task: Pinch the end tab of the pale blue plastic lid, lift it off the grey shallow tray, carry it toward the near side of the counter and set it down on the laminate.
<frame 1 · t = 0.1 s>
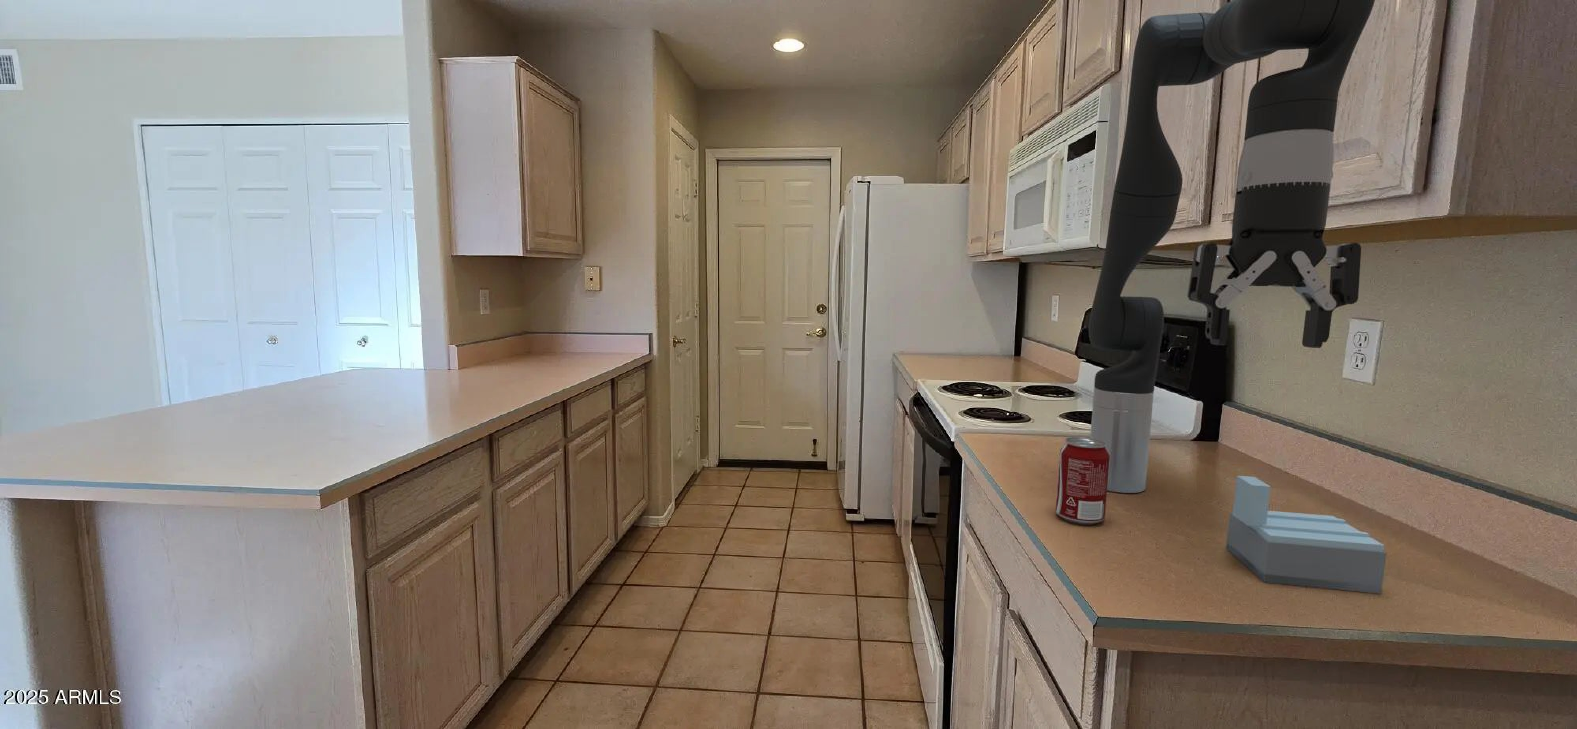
hand: (1263, 345, 66), 29 cm above the table, fingers open, 8 cm apart
soda can: (1079, 520, 97), on the table
grey shallow tray: (1297, 569, 80), on the table
lid: (1302, 531, 80), point 5 cm above the table, touching grey shallow tray
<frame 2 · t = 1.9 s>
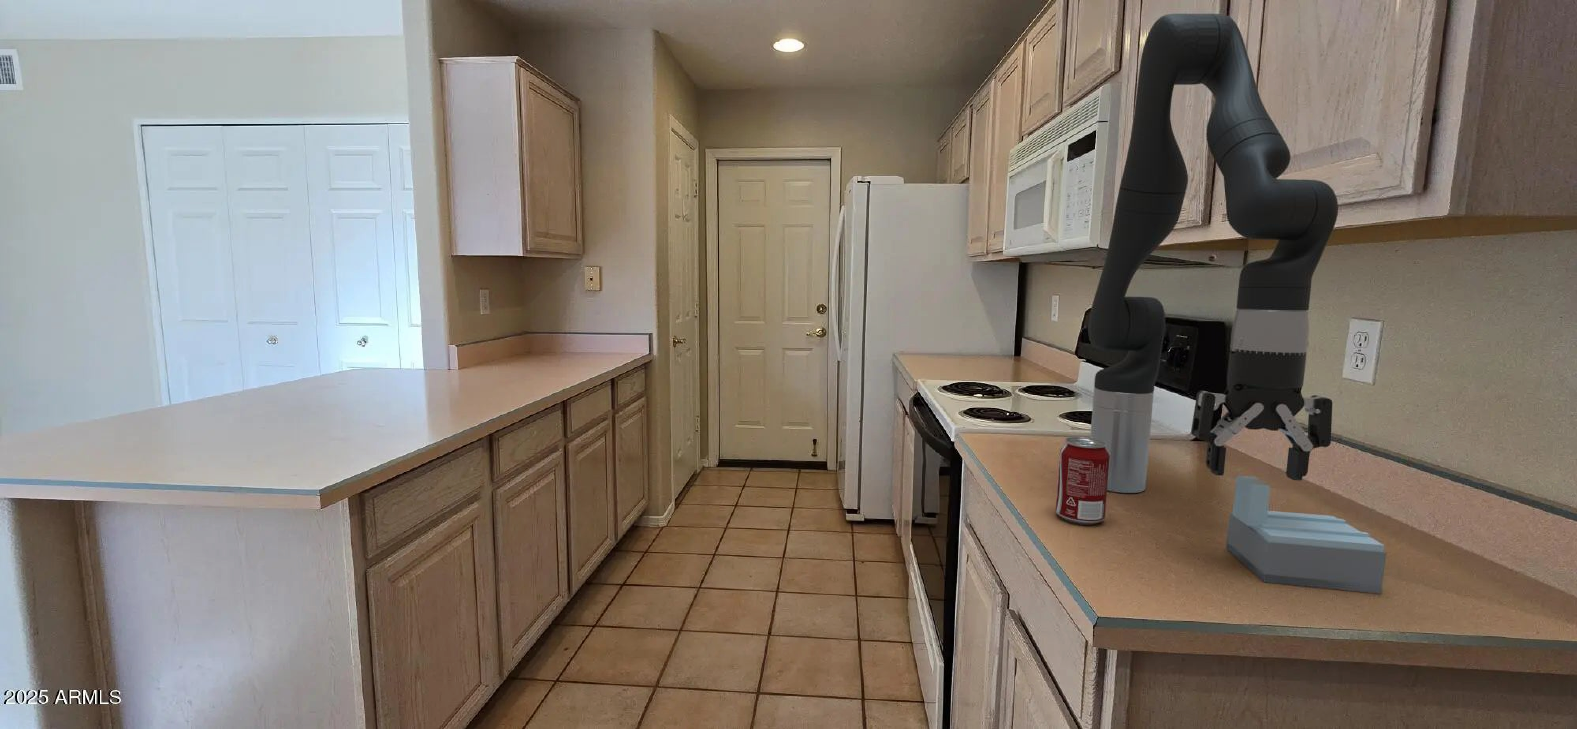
hand: (1254, 476, 80), 12 cm above the table, fingers open, 8 cm apart
nothing on the table moved.
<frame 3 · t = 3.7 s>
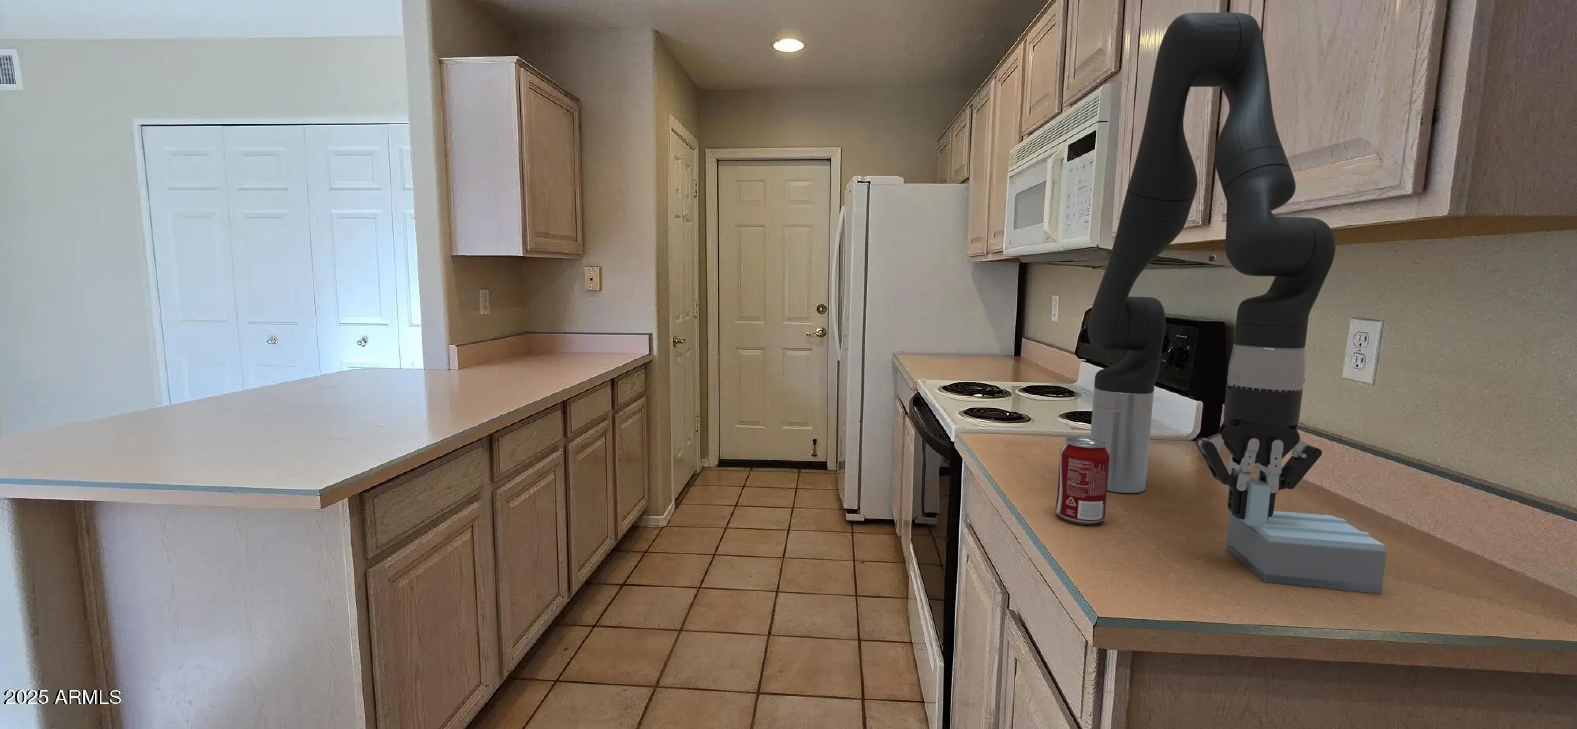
hand: (1248, 517, 81), 6 cm above the table, fingers closed on lid
lid: (1302, 531, 80), point 5 cm above the table, touching gripper
everything else where it was.
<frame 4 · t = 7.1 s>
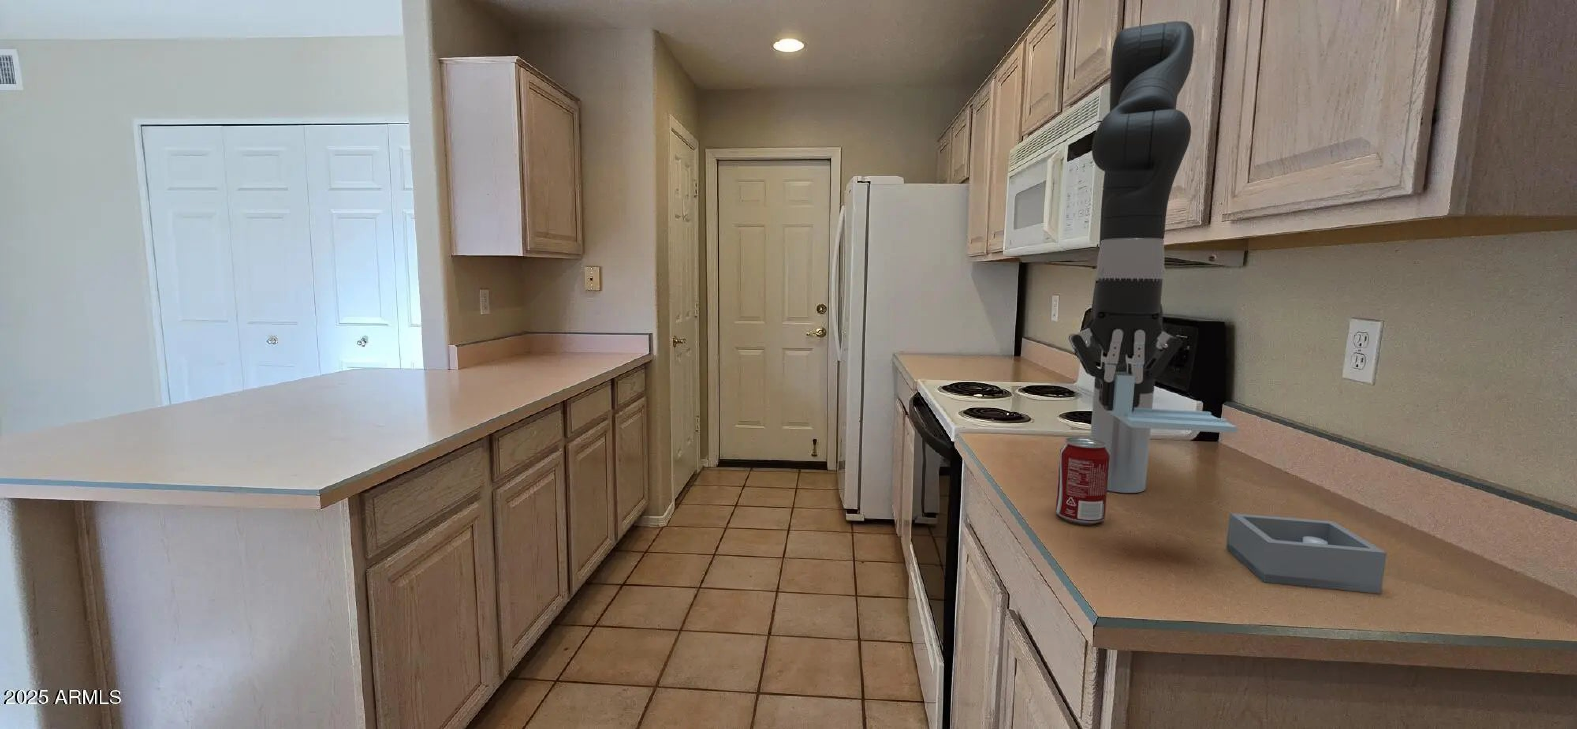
hand: (1117, 409, 83), 19 cm above the table, fingers closed on lid
lid: (1168, 422, 82), point 18 cm above the table, touching gripper
everything else where it was.
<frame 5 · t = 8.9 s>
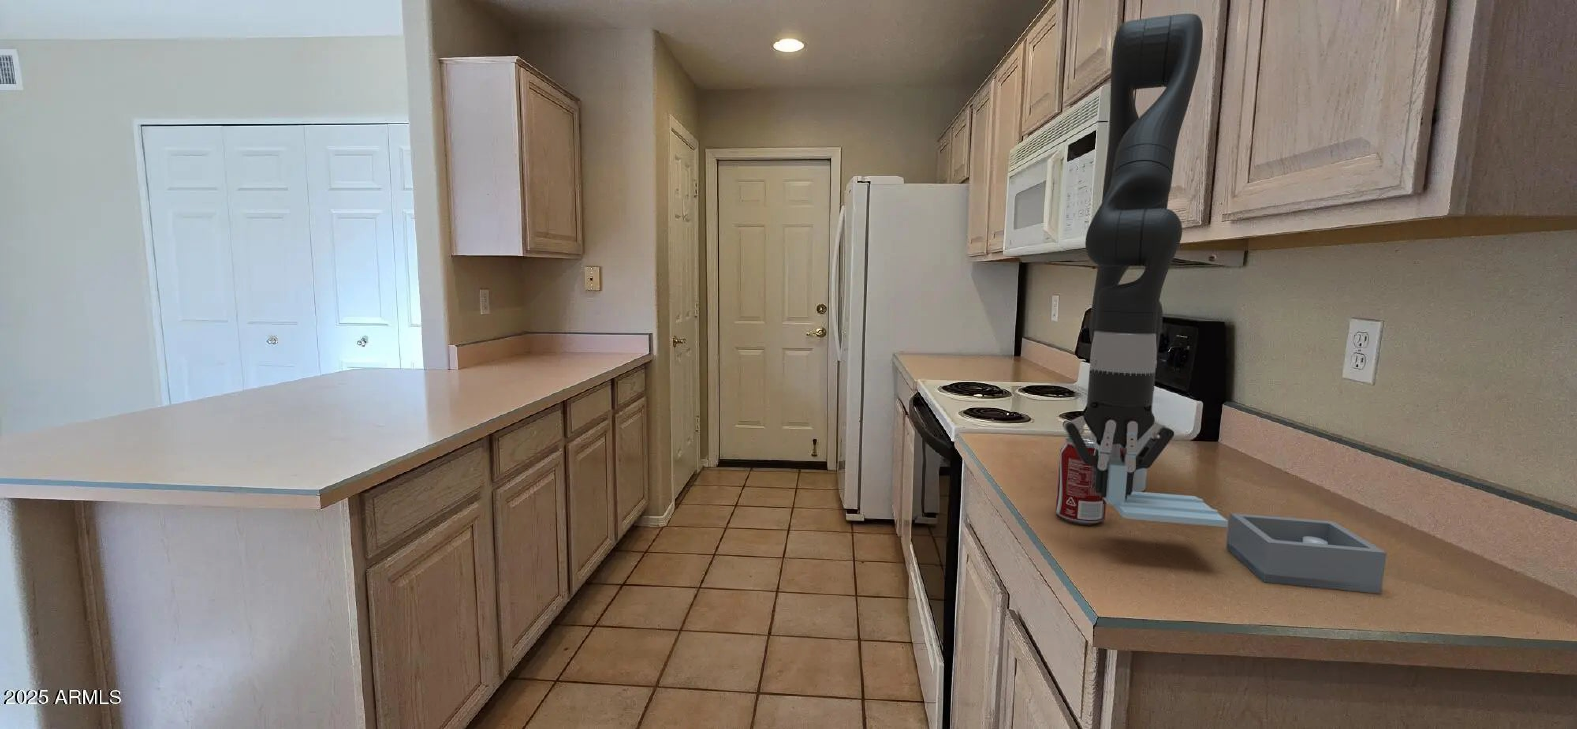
hand: (1111, 496, 85), 7 cm above the table, fingers closed on lid
lid: (1160, 509, 83), point 6 cm above the table, touching gripper
everything else where it was.
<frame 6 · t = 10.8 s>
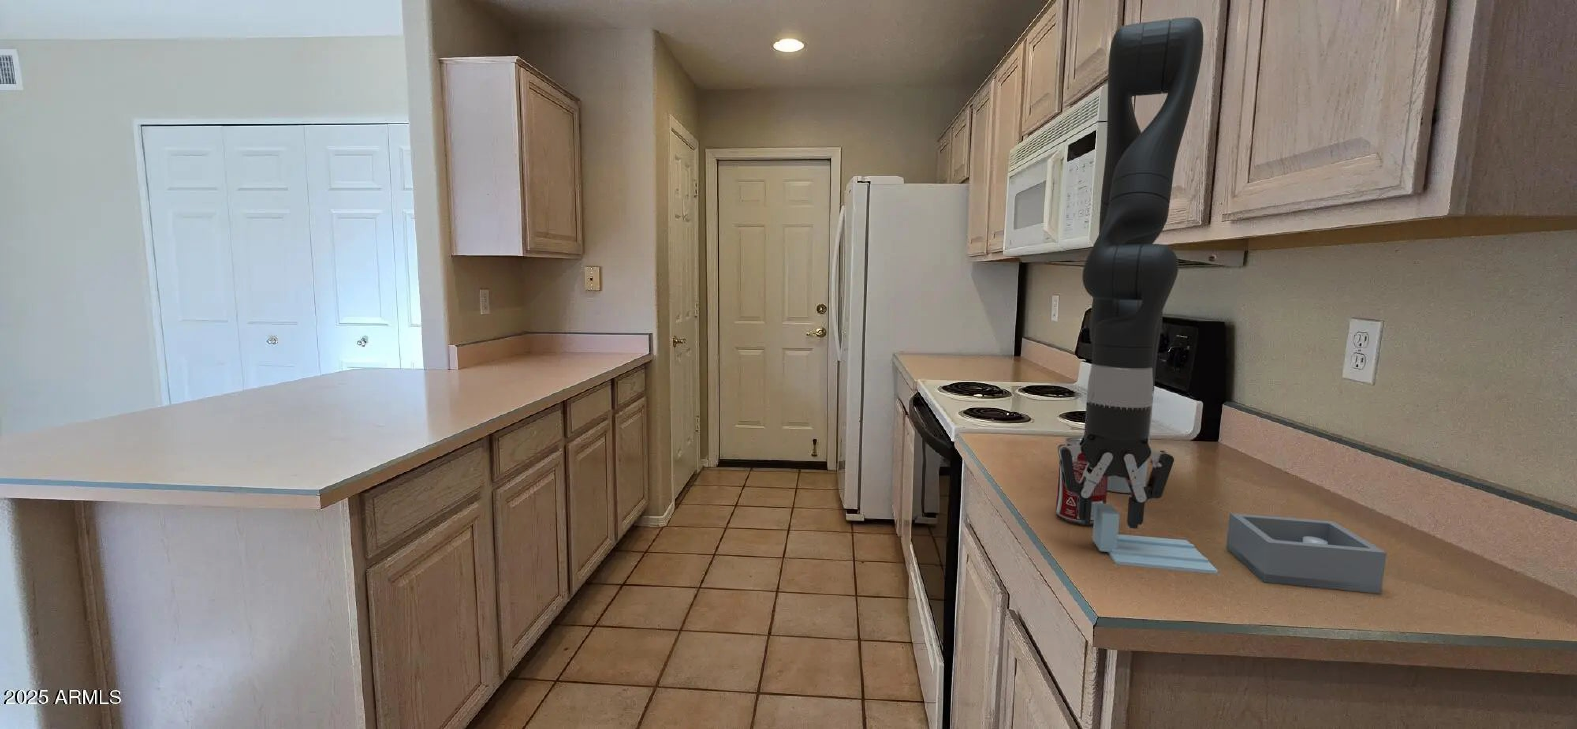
hand: (1108, 524, 85), 3 cm above the table, fingers open, 5 cm apart
lid: (1152, 556, 85), on the table
everything else where it was.
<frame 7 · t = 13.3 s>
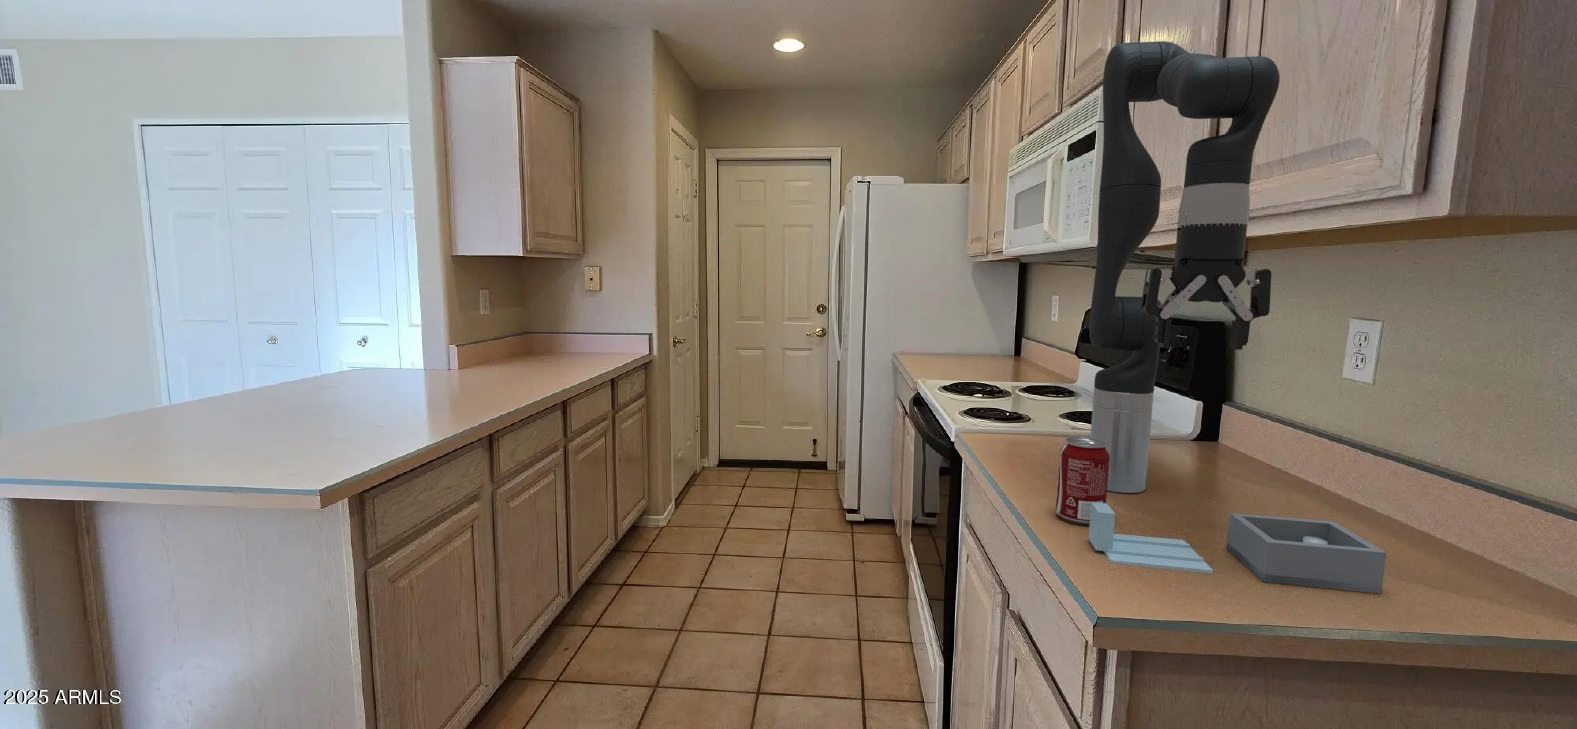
hand: (1198, 348, 84), 27 cm above the table, fingers open, 8 cm apart
nothing on the table moved.
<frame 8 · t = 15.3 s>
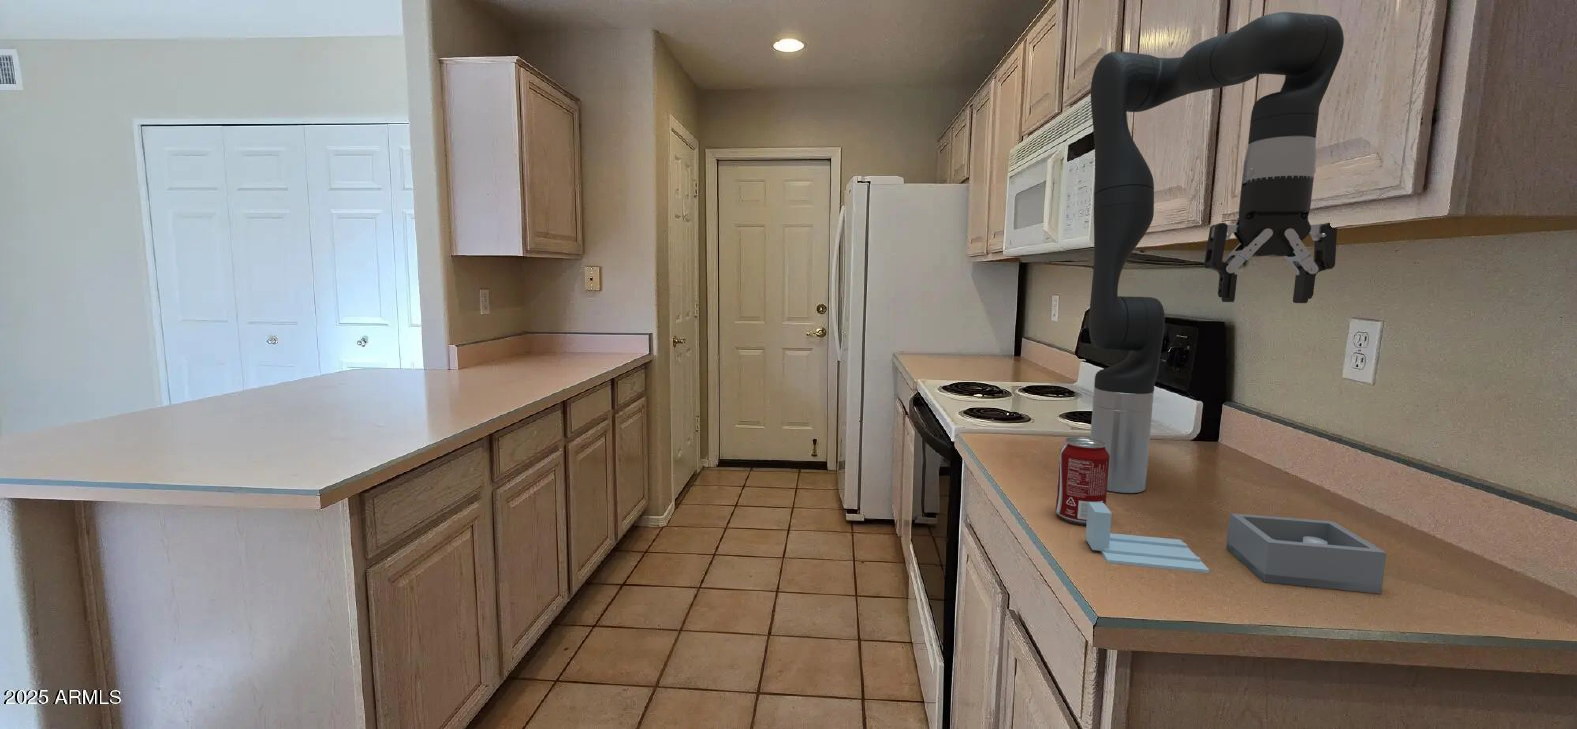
hand: (1263, 302, 85), 33 cm above the table, fingers open, 8 cm apart
nothing on the table moved.
at the end: lid inside the target area (2.1 cm from its centre), on the table; lid touching table; the gripper is holding nothing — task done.
